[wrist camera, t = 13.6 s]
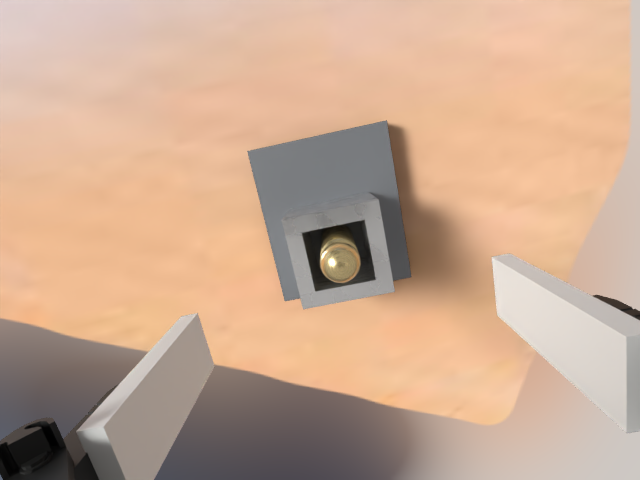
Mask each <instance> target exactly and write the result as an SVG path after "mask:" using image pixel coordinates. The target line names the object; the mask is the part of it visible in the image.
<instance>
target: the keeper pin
mask: <svg viewBox="0 0 640 480" xmlns="http://www.w3.org/2000/svg"><path fill="white" fill-rule="evenodd" d="M360 265H361V260H360V255H359V252H358V250H357V247H356V244H355V241H354V238H353V235H352V233H351V230H350V229H349V228H348V227H347V226H346V225H344V224H341V225H336V226H332V227H327V228H325V229H324V230H323V233H322V237H321V250H320V268H321V271H322V273H323V274H324V275H325V277H326V278H328V279H329V280H331V281H333V282H336V283H344V282H348V281H350V280H352V279H353V278H354V277H355V276H356V275H357V273H358V272H359V269H360Z"/></svg>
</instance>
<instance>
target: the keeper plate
mask: <svg viewBox="0 0 640 480" xmlns="http://www.w3.org/2000/svg"><path fill="white" fill-rule="evenodd" d="M247 152H248V156H249V160H250V164H251V168H252V172H253V176H254V180H255V184H256V188H257V192H258V196H259V200H260V204H261V208H262V212H263V216H264V220H265V224H266V228H267V232H268V236H269V240H270V244H271V248H272V252H273V256H274V260H275V264H276V268H277V272H278V276H279V280H280V284H281V288H282V292H283V296H284V300H285V301H289V300H294V299H299V298H300V294H299V290H298V286H297V282H296V278H295V274H294V270H293V266H292V261H291V257H290V253H289V249H288V245H287V241H286V237H285V233H284V228H283V224H282V219H283V217H284V216H285V215H286V213H287V212H288V211H289V210H290V209H291V208H295V207H300V206H305V205H309V204H314V203H319V202H324V201H328V200H333V199H338V198H342V197H347V196H352V195H357V194H361V193H366V192H369V193H370V194H372V195H373V196H375V197H376V198H377V199H379V204H380V210H381V216H382V221H383V227H384V233H385V238H386V244H387V250H388V255H389V261H390V267H391V272H392V278H393V281H394V280H399V279H404V278H410V277H411V271H410V265H409V258H408V252H407V246H406V239H405V233H404V227H403V221H402V214H401V208H400V202H399V195H398V189H397V183H396V176H395V170H394V164H393V157H392V151H391V145H390V138H389V132H388V126H387V120H386V121H382V122H377V123H373V124H368V125H364V126H359V127H355V128H350V129H346V130H341V131H337V132H332V133H328V134H323V135H319V136H314V137H310V138H305V139H301V140H296V141H292V142H287V143H283V144H278V145H274V146H269V147H265V148H260V149H256V150H251V151H247ZM344 225H346V226H347V227H348V228H349V229H350V230H351V233H352V235H353V238H354V241H355V244H356V247H357V250H358V252H359V255H360V259H361V258H366V257H367V256H366V251H365V246H364V240H363V235H362V230H361V225H360V221H356V222H351V223H346V224H344ZM324 229H325V228H322V229H317V230H312V231H309V232H310V237H311V241H312V246H313V250H314V254H315V259H316V263H317V267H320V250H321V237H322V233H323V230H324Z"/></svg>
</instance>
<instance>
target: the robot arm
mask: <svg viewBox="0 0 640 480" xmlns="http://www.w3.org/2000/svg"><path fill="white" fill-rule="evenodd" d="M492 266H493V276H494V286H495V297H496V307H497V315H498V316H499V317H500V318H501V319H502V320H503V321H504V322H505V323H506V324H507V325H509V326H510V327H511V328H512V329H513V330H514V331H515V332H516V333H517V334H518V335H519V336H521V337H522V338H523V339H524V340H525V341H526V342H527V343H528V344H529V345H530V346H532V347H533V348H534V349H535V350H536V351H537V352H538V353H539V354H540V355H541V356H542V357H544V358H545V359H546V360H547V361H548V362H549V363H550V364H551V365H552V366H553V367H554V368H556V369H557V370H558V371H559V372H560V373H561V374H562V375H563V376H564V377H565V378H567V379H568V380H569V381H570V382H571V383H572V384H573V385H574V386H575V387H577V388H578V389H579V390H580V391H581V392H582V393H583V394H584V395H585V396H586V397H587V398H588V399H590V400H591V401H592V402H593V403H594V404H595V405H596V406H597V407H598V408H599V409H600V410H602V411H603V412H604V413H605V414H606V415H607V416H608V417H609V418H610V419H611V420H612V421H614V422H615V423H616V424H617V425H618V426H619V427H620V428H621V429H622V430H623V431H625V432H626V433H632V432H638V431H640V311H638V310H636V309H632V307H630V306H628V305H626V304H624V303H622V302H620V301H618V300H615V299H611V298H607V297H603V296H600V295H594V296H591V295H589V294H588V293H585V292H584V291H582V290H580V289H578V288H576V287H574V286H572V285H570V284H568V283H566V282H564V281H562V280H560V279H558V278H557V277H555V276H553V275H551V274H549V273H547V272H545V271H543V270H541V269H539V268H537V267H535V266H533V265H531V264H529V263H527V262H525V261H524V260H522V259H520V258H518V257H516V256H514V255H512V254H504V255H499V256H494V257H492ZM213 368H214V363H213V360H212V357H211V354H210V350H209V347H208V344H207V341H206V338H205V335H204V332H203V328H202V325H201V322H200V319H199V316H198V313H196V314H191V315H185V316H181V317H180V318H179V320H178V321H177V322H176V323H175V324H174V325H173V326H172V327H171V328H170V329H169V330H168V332H167V333H166V334H165V335H164V336H163V337H162V338H161V339H160V340H159V341H158V342H157V344H156V345H155V346H154V347H153V348H152V349H151V350H150V351H149V352H148V353H147V355H146V356H145V357H144V358H143V359H142V360H141V361H140V362H139V363H138V364H137V366H136V367H135V368H134V369H133V370H132V371H131V372H130V373H129V374H128V375H127V376H126V378H125V379H124V380H123V381H122V382H121V383H119V384H118V385H117V386H115V387H114V388H112V389H111V390H110V391H108V392H107V393H106V394H105V395H104V397H102V398H101V400H100V401H99V402H98V403H97V405H96V406H94V407H93V408H92V409H91V410H90V411H89V412H88V415H86V416H85V417H84V418H83V419H82V420H81V421H80V422H79V423H78V424H77V425H76V426H75V428H73V430H72V431H71V432H70V433H69V434H68V435H67V436H66V437H65V438H64V439H63V438H62V436H61V434H60V432H59V430H58V427H57V425H56V423H55V421H54V420H53V419H52V418H43V419H39V420H35V421H33V422H31V423H28V424H26V425H24V426H22V427H20V428H19V429H17V430H15V431H13V432H12V433H11V434H9V435H8V436H6V437H5V438H3V439H2V440H1V441H0V475H1V477H2V478H3V480H154V478H155V476H156V474H157V473H158V471H159V469H160V467H161V465H162V463H163V461H164V459H165V458H166V456H167V454H168V452H169V450H170V448H171V446H172V445H173V443H174V441H175V439H176V437H177V435H178V433H179V431H180V430H181V428H182V426H183V424H184V422H185V420H186V418H187V417H188V415H189V413H190V411H191V409H192V407H193V405H194V404H195V402H196V400H197V398H198V396H199V394H200V392H201V390H202V389H203V387H204V385H205V383H206V381H207V379H208V377H209V376H210V374H211V372H212V370H213Z"/></svg>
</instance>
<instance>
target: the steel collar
mask: <svg viewBox="0 0 640 480" xmlns="http://www.w3.org/2000/svg"><path fill="white" fill-rule="evenodd" d="M356 221H360V225H361V230H362V235H363V240H364V246H365V251H366V256H367V257H366V258H361V259H360V260H361V265H360V269H359V272H358V273H357V275H356V276H355V277H354V278H353V279H352V280H350V281H348V282H344V283H336V282H333V281H331V280H329V279H328V278H326V277H325V275H324V274H323V273H322V271H321V268H320V267H317V263H316V259H315V254H314V250H313V246H312V241H311V237H310V232H309V231H312V230H317V229H322V228H327V227H332V226H336V225H341V224H346V223H351V222H356ZM282 224H283V228H284V233H285V237H286V241H287V245H288V249H289V253H290V257H291V261H292V266H293V270H294V274H295V278H296V282H297V286H298V290H299V294H300V298H301V303H302V307H303V309H307V308H313V307H318V306H323V305H328V304H334V303H339V302H344V301H349V300H354V299H360V298H365V297H370V296H375V295H381V294H386V293H391V292H395V290H394V284H393V278H392V272H391V267H390V261H389V255H388V250H387V244H386V238H385V233H384V227H383V221H382V216H381V210H380V204H379V199H377V198H376V197H375V196H373V195H372V194H370V193H369V192H366V193H361V194H357V195H352V196H347V197H342V198H338V199H333V200H328V201H324V202H319V203H314V204H309V205H305V206H300V207H295V208H291V209H290V210H289V211H288V212H287V213H286V215H285V216H284V217H283V219H282Z"/></svg>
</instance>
